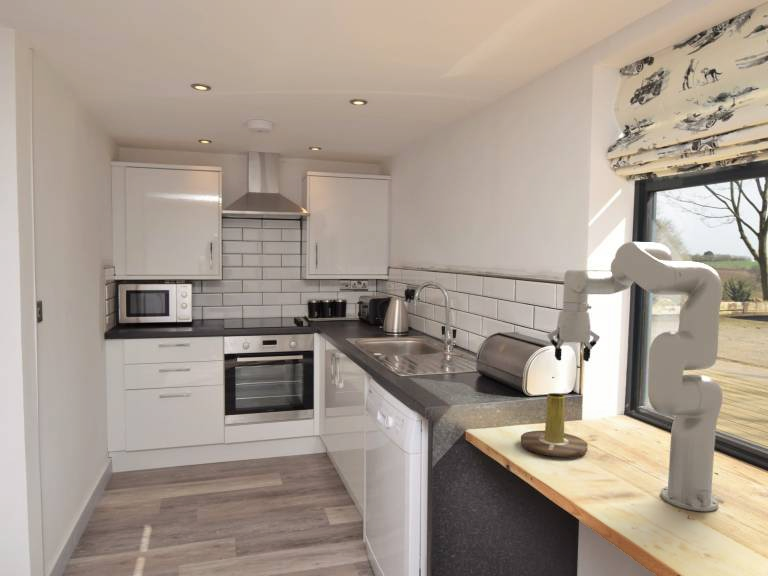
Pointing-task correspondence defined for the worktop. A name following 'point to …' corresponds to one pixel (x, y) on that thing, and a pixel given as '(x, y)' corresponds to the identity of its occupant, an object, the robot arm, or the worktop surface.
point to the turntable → (554, 444)
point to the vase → (555, 418)
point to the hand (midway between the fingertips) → (572, 360)
